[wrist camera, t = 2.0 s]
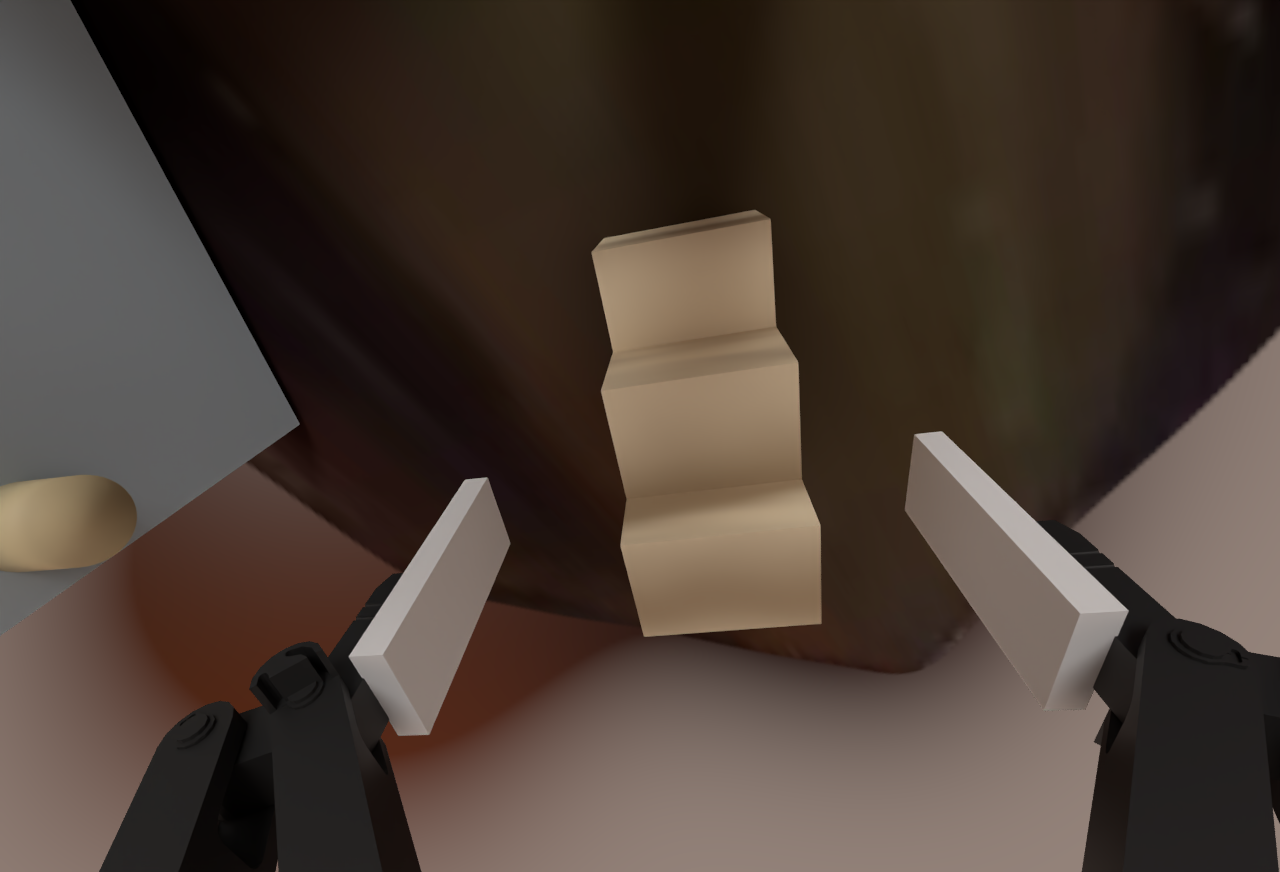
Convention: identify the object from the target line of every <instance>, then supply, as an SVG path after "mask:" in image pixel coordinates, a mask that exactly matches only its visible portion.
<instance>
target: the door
mask: <svg viewBox="0 0 1280 872" xmlns="http://www.w3.org/2000/svg"><path fill="white" fill-rule="evenodd" d="M298 425H300V424H299V422H298V420H297V418H296V416H295V414H294V412H293V411H292V409H291V407H290V405H289V403H288V401H287V400H286V398H285V396H284V394H283V392H282V390H281V388H280V387H279V385H278V383H277V381H276V379H275V377H274V375H273V374H272V372H271V370H270V368H269V366H268V364H267V363H266V361H265V359H264V357H263V355H262V353H261V351H260V350H259V348H258V346H257V344H256V342H255V340H254V339H253V337H252V335H251V333H250V331H249V329H248V327H247V326H246V324H245V322H244V320H243V318H242V316H241V315H240V313H239V311H238V309H237V307H236V305H235V303H234V302H233V300H232V298H231V296H230V294H229V292H228V291H227V289H226V287H225V285H224V283H223V281H222V279H221V278H220V276H219V274H218V272H217V270H216V268H215V266H214V265H213V263H212V261H211V259H210V257H209V255H208V254H207V252H206V250H205V248H204V246H203V244H202V242H201V241H200V239H199V237H198V235H197V233H196V231H195V230H194V228H193V226H192V224H191V222H190V220H189V218H188V217H187V215H186V213H185V211H184V209H183V207H182V206H181V204H180V202H179V200H178V198H177V196H176V194H175V193H174V191H173V189H172V187H171V185H170V183H169V181H168V180H167V178H166V176H165V174H164V172H163V170H162V169H161V167H160V165H159V163H158V161H157V159H156V157H155V156H154V154H153V152H152V150H151V148H150V146H149V145H148V143H147V141H146V139H145V137H144V135H143V133H142V132H141V130H140V128H139V126H138V124H137V122H136V121H135V119H134V117H133V115H132V113H131V111H130V109H129V108H128V106H127V104H126V102H125V100H124V98H123V97H122V95H121V93H120V91H119V89H118V87H117V85H116V84H115V82H114V80H113V78H112V76H111V74H110V72H109V71H108V69H107V67H106V65H105V63H104V61H103V60H102V58H101V56H100V54H99V52H98V50H97V48H96V47H95V45H94V43H93V41H92V39H91V37H90V36H89V34H88V32H87V30H86V28H85V26H84V24H83V23H82V21H81V19H80V17H79V15H78V13H77V12H76V10H75V8H74V6H73V4H72V2H71V0H0V635H2V634H3V633H5V632H6V631H8V630H9V629H10V628H12V627H13V626H15V625H16V624H18V623H19V622H20V621H22V620H23V619H25V618H26V617H28V616H29V615H30V614H32V613H33V612H35V611H36V610H37V609H39V608H40V607H42V606H43V605H44V604H46V603H47V602H49V601H50V600H52V599H53V598H54V597H56V596H57V595H59V594H60V593H62V592H63V591H64V590H66V589H67V588H69V587H70V586H71V585H73V584H74V583H76V582H77V581H79V580H80V579H81V578H83V577H84V576H86V575H87V574H89V573H90V572H91V571H93V570H94V569H95V568H97V567H98V566H100V565H101V564H103V563H104V562H105V561H107V560H108V559H110V558H111V557H113V556H114V555H115V554H117V553H118V552H119V551H121V550H123V549H124V548H125V547H127V546H128V545H130V544H131V543H132V542H134V541H135V540H137V539H138V538H139V537H141V536H142V535H144V534H145V533H147V532H148V531H149V530H151V529H152V528H154V527H155V526H156V525H158V524H159V523H161V522H162V521H164V520H165V519H166V518H168V517H169V516H171V515H172V514H174V513H175V512H176V511H178V510H179V509H181V508H182V507H183V506H185V505H186V504H188V503H189V502H191V501H192V500H193V499H195V498H196V497H197V496H199V495H200V494H202V493H203V492H204V491H206V490H208V489H209V488H210V487H212V486H213V485H215V484H216V483H218V482H219V481H220V480H222V479H223V478H225V477H226V476H227V475H229V474H230V473H232V472H233V471H235V470H236V469H237V468H238V467H240V466H242V465H243V464H244V463H246V462H247V461H249V460H250V459H252V458H253V457H254V456H256V455H257V454H259V453H260V452H261V451H263V450H264V449H266V448H267V447H269V446H270V445H271V444H273V443H274V442H276V441H277V440H278V439H280V438H281V437H283V436H284V435H286V434H287V433H288V432H290V431H291V430H293V429H294V428H295V427H297V426H298Z"/></svg>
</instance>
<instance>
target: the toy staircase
mask: <svg viewBox="0 0 1280 872" xmlns="http://www.w3.org/2000/svg"><path fill="white" fill-rule="evenodd" d="M592 257H593V262H594V266H595V271H596V275H597V280H598V285H599V289H600V294H601V298H602V303H603V308H604V312H605V317H606V321H607V326H608V331H609V335H610V340H611V345H612V349H613V354H612V357H611V360H610V363H609V367H608V370H607V373H606V376H605V379H604V383H603V386H602V389H601V393H602V398H603V402H604V406H605V410H606V414H607V419H608V423H609V427H610V431H611V435H612V440H613V444H614V448H615V452H616V456H617V461H618V465H619V469H620V473H621V477H622V482H623V486H624V490H625V494H626V498H627V501H626V508H625V515H624V523H623V530H622V537H621V545H620V546H621V550H622V554H623V558H624V561H625V565H626V569H627V573H628V577H629V581H630V584H631V588H632V592H633V596H634V600H635V604H636V607H637V611H638V615H639V619H640V623H641V627H642V630H643V634H644V637H648V636H661V635H675V634H688V633H702V632H715V631H729V630H742V629H756V628H769V627H783V626H796V625H810V624H821V528H820V523H819V521H818V518H817V516H816V513H815V511H814V508H813V506H812V503H811V501H810V498H809V496H808V493H807V491H806V488H805V486H804V483H803V481H802V469H801V435H800V402H799V369H798V361H797V359H796V358H795V356H794V354H793V353H792V351H791V350H790V348H789V346H788V345H787V343H786V342H785V340H784V338H783V337H782V335H781V334H780V332H779V330H778V329H777V327H776V315H775V295H774V276H773V256H772V236H771V219H770V218H768V217H766V216H765V215H763V214H761V213H760V212H758V211H756V210H751V211H745V212H740V213H735V214H730V215H724V216H719V217H714V218H708V219H703V220H698V221H692V222H687V223H682V224H677V225H671V226H666V227H661V228H655V229H650V230H645V231H640V232H634V233H629V234H624V235H618V236H613V237H608V238H604V239H603V240H602V241H601V242H600V243H599V244H598V245H597V247H596V248H595V249H594V250H593V251H592Z"/></svg>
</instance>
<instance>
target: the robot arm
mask: <svg viewBox="0 0 1280 872" xmlns="http://www.w3.org/2000/svg"><path fill="white" fill-rule="evenodd" d="M905 511H906V512H907V514H908V515H909V517H910V518H911V520H912V521H913V523H914V524H915V525H916V527H917V528H918V530H919V531H920V533H921V534H922V536H923V537H924V538H925V540H926V541H927V543H928V544H929V546H930V547H931V549H932V550H933V551H934V553H935V554H936V556H937V557H938V559H939V560H940V562H941V563H942V564H943V566H944V567H945V569H946V570H947V572H948V573H949V575H950V576H951V577H952V579H953V580H954V582H955V583H956V585H957V586H958V588H959V589H960V590H961V592H962V593H963V595H964V596H965V598H966V599H967V601H968V602H969V603H970V605H971V606H972V608H973V609H974V611H975V612H976V614H977V615H978V616H979V618H980V619H981V621H982V622H983V624H984V625H985V627H986V628H987V629H988V631H989V632H990V634H991V635H992V637H993V638H994V640H995V641H996V642H997V644H998V645H999V647H1000V648H1001V650H1002V651H1003V653H1004V654H1005V655H1006V657H1007V658H1008V660H1009V661H1010V663H1011V664H1012V666H1013V667H1014V668H1015V670H1016V671H1017V673H1018V674H1019V676H1020V677H1021V678H1022V680H1023V681H1024V683H1025V684H1026V686H1027V687H1028V689H1029V690H1030V692H1031V693H1032V694H1033V696H1034V697H1035V699H1036V700H1037V702H1038V703H1039V704H1040V706H1041V707H1042V709H1043V710H1044V711H1054V710H1079V709H1080V710H1081V709H1086V707H1087V705H1088V703H1089V700H1090V698H1091V696H1092V694H1093V691H1094V690H1095V691H1096V692H1097V693H1098V695H1099V696H1100V697H1101V698H1102V699H1103V701H1104V702H1105V703H1106V704H1107V705H1108V707H1109V708H1110V709H1109V711H1108V713H1107V715H1106V717H1105V720H1104V722H1103V724H1102V726H1101V728H1100V730H1099V732H1098V734H1097V736H1096V739H1095V741H1094V742H1095V743H1097V744H1099V745H1101V748H1100V755H1099V762H1098V768H1097V775H1096V782H1095V788H1094V794H1093V801H1092V808H1091V814H1090V821H1089V827H1088V834H1087V841H1086V848H1085V855H1084V861H1083V868H1082V872H1279V869H1278V860H1277V859H1278V858H1277V848H1276V838H1275V828H1274V819H1273V818H1274V817H1273V809H1274V812H1275V814H1276V816H1277V818H1278V820H1279V823H1280V657H1273V656H1268V655H1261V654H1256V653H1251V652H1248V651H1247V650H1246V649H1245V648H1243V646H1241V645H1240V644H1239V643H1238V642H1236V641H1234V640H1233V639H1231V638H1229V637H1228V636H1226V635H1225V634H1223V633H1221V632H1219V631H1217V630H1214V629H1212V628H1209V627H1207V626H1205V625H1202V624H1199V623H1195V622H1191V621H1187V620H1183V619H1176V618H1175V617H1174V616H1172V615H1171V614H1170V613H1169V612H1168V611H1167V610H1166V609H1164V608H1163V607H1162V606H1161V605H1160V604H1159V603H1158V602H1156V601H1155V600H1154V599H1153V598H1152V597H1151V596H1150V595H1149V594H1148V593H1146V592H1145V591H1144V590H1143V589H1142V588H1141V587H1140V586H1139V585H1137V584H1136V583H1135V582H1134V581H1133V580H1132V579H1131V578H1130V577H1128V576H1127V575H1126V574H1125V573H1124V572H1123V571H1122V570H1120V569H1119V568H1118V567H1114V563H1113V562H1111V561H1110V560H1109V559H1108V558H1107V557H1106V556H1105V555H1104V554H1102V553H1099V551H1098V549H1097V548H1096V547H1095V546H1093V545H1092V544H1091V543H1090V542H1089V541H1088V540H1087V539H1085V538H1084V537H1083V536H1082V535H1081V534H1080V533H1078V532H1076V531H1074V530H1072V529H1070V528H1068V527H1067V526H1065V525H1063V524H1061V523H1059V522H1057V521H1055V520H1049V521H1037V522H1036V521H1035V520H1034V519H1033V518H1032V517H1031V516H1030V515H1028V514H1027V513H1026V512H1025V511H1024V510H1023V509H1022V508H1021V507H1020V506H1019V505H1018V504H1017V503H1016V502H1015V501H1014V500H1013V499H1012V498H1011V497H1010V496H1009V495H1008V494H1007V493H1006V492H1005V491H1003V490H1002V489H1001V488H1000V487H999V486H998V485H997V484H996V483H995V482H994V481H993V480H992V479H991V478H990V477H989V476H988V475H987V474H986V473H985V472H984V471H983V470H982V469H981V468H980V467H978V466H977V465H976V464H975V463H974V462H973V461H972V460H971V459H970V458H969V457H968V456H967V455H966V454H965V453H964V452H963V451H962V450H961V449H960V448H959V447H958V446H957V445H956V444H955V443H953V442H952V441H951V440H950V439H949V438H948V437H947V436H946V435H945V434H944V433H943V432H932V433H922V434H914V441H913V449H912V457H911V465H910V473H909V481H908V489H907V496H906V504H905ZM509 546H510V541H509V538H508V535H507V532H506V529H505V526H504V523H503V521H502V518H501V515H500V512H499V509H498V506H497V503H496V500H495V498H494V495H493V492H492V489H491V486H490V483H489V480H488V478H477V479H467V480H465V481H464V482H463V484H462V485H461V487H460V488H459V490H458V491H457V493H456V494H455V496H454V497H453V499H452V500H451V502H450V503H449V505H448V506H447V508H446V509H445V511H444V512H443V514H442V515H441V517H440V519H439V520H438V522H437V523H436V525H435V526H434V528H433V529H432V531H431V532H430V534H429V535H428V537H427V538H426V540H425V541H424V543H423V544H422V546H421V547H420V549H419V550H418V552H417V553H416V555H415V557H414V558H413V560H412V561H411V563H410V564H409V566H408V567H407V569H406V570H405V572H404V573H397V574H392V575H391V576H390V577H389V578H388V579H386V580H385V581H384V582H383V583H382V584H381V585H380V586H379V587H377V588H376V589H375V591H374V592H373V594H372V595H371V597H370V598H369V600H368V601H367V602H366V604H365V607H363V608H362V610H361V611H360V612H359V614H358V616H357V617H356V621H353V623H352V624H351V625H350V627H349V628H348V630H347V631H346V632H345V634H344V635H343V637H342V638H341V640H340V641H339V642H338V644H337V645H336V647H335V648H334V650H333V651H332V652H331V654H330V655H329V657H327V656H326V654H325V653H324V651H323V650H322V648H321V647H320V645H319V644H318V643H314V642H310V641H309V642H303V643H298V644H295V645H293V646H290V647H288V648H286V649H284V650H282V651H281V652H279V653H278V654H276V655H274V656H273V657H271V658H270V659H269V660H268V661H267V662H266V663H265V664H264V665H263V666H262V667H260V669H259V670H258V672H257V673H256V674H255V676H254V677H253V679H252V681H251V685H250V690H251V691H252V693H253V694H254V695H255V697H256V698H257V699H258V700H259V701H260V703H261V704H262V705H263V706H261V707H258V708H255V709H252V710H249V711H246V712H243V713H240V714H239V713H238V712H237V711H236V710H235V708H234V707H233V706H232V705H231V704H230V703H229V702H222V701H219V702H215V703H211V704H208V705H205V706H203V707H201V708H199V709H197V710H196V711H193V712H192V713H190V714H189V715H188V716H186V717H185V718H184V719H182V720H181V721H179V722H178V723H177V724H176V725H175V726H174V727H173V728H172V729H171V730H170V731H169V732H168V733H167V734H166V735H165V737H164V738H163V740H162V741H161V743H160V744H159V746H158V747H157V749H156V752H155V754H154V756H153V758H152V760H151V762H150V765H149V766H148V769H147V771H146V773H145V775H144V777H143V779H142V782H141V784H140V786H139V788H138V790H137V792H136V794H135V796H134V798H133V801H132V803H131V805H130V807H129V809H128V811H127V813H126V815H125V818H124V820H123V822H122V824H121V826H120V828H119V830H118V833H117V835H116V837H115V839H114V841H113V843H112V846H111V848H110V850H109V852H108V854H107V856H106V858H105V860H104V862H103V865H102V867H101V869H100V871H99V872H275V871H276V866H277V861H278V868H279V872H421V869H420V865H419V862H418V858H417V855H416V851H415V848H414V844H413V841H412V837H411V834H410V830H409V826H408V823H407V819H406V816H405V812H404V809H403V805H402V802H401V798H400V794H399V791H398V788H397V784H396V780H395V777H394V773H393V770H392V766H391V763H390V759H389V756H388V752H387V748H386V745H385V743H384V742H383V740H382V739H381V735H382V733H383V731H384V729H385V727H386V725H387V723H388V721H389V722H390V723H391V725H392V726H393V728H394V729H395V731H396V733H397V734H398V736H404V735H429V734H430V731H431V729H432V727H433V724H434V722H435V720H436V717H437V715H438V713H439V710H440V708H441V706H442V703H443V701H444V699H445V696H446V694H447V692H448V689H449V687H450V685H451V682H452V680H453V677H454V675H455V673H456V670H457V668H458V666H459V663H460V661H461V659H462V656H463V654H464V651H465V649H466V647H467V644H468V642H469V640H470V637H471V635H472V633H473V630H474V628H475V626H476V623H477V621H478V619H479V616H480V614H481V611H482V609H483V606H484V604H485V602H486V600H487V597H488V595H489V593H490V590H491V588H492V586H493V583H494V581H495V579H496V576H497V574H498V571H499V569H500V567H501V564H502V562H503V560H504V557H505V555H506V553H507V550H508V548H509Z"/></svg>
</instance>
